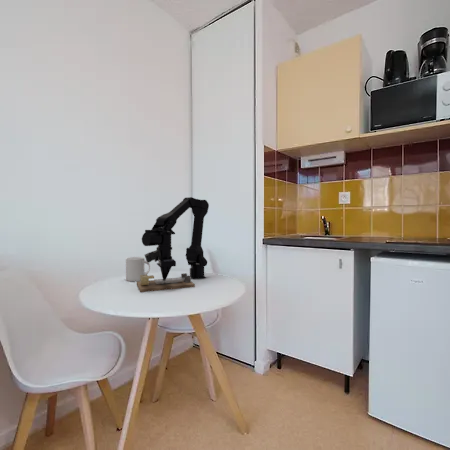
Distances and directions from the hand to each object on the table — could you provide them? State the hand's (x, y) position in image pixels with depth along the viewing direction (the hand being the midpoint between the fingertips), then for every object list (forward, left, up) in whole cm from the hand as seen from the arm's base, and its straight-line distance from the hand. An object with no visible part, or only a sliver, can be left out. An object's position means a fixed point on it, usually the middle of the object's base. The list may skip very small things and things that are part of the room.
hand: (164, 279), depth 124 cm
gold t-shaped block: (+7, 0, -1) cm, 7 cm away
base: (0, 0, -3) cm, 3 cm away
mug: (+9, -18, -3) cm, 20 cm away
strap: (-3, 0, -1) cm, 3 cm away
